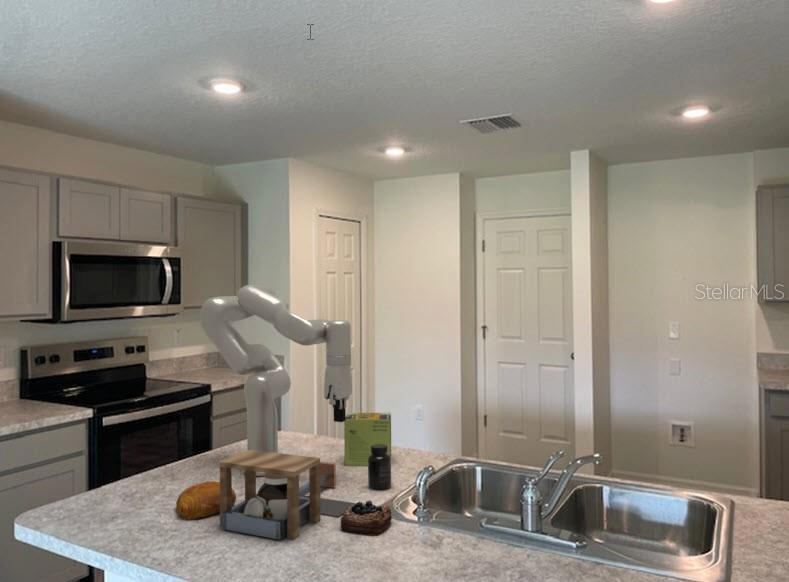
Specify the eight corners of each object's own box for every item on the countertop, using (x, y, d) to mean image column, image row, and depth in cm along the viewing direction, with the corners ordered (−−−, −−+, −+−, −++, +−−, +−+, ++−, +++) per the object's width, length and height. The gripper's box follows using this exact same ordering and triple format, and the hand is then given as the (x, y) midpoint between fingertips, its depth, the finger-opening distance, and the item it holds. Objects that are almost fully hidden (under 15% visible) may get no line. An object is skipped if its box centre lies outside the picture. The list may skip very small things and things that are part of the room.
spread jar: (303, 519, 150) (303, 473, 150) (277, 536, 140) (276, 486, 140) (265, 511, 155) (264, 467, 155) (236, 527, 145) (236, 480, 145)
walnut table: (220, 525, 146) (219, 461, 146) (249, 508, 157) (249, 449, 157) (294, 539, 138) (294, 471, 138) (320, 520, 149) (320, 458, 149)
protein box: (390, 466, 195) (390, 418, 195) (344, 466, 195) (343, 418, 195) (391, 457, 205) (391, 412, 205) (347, 457, 205) (346, 412, 205)
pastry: (381, 538, 139) (381, 513, 138) (334, 532, 142) (333, 507, 142) (396, 521, 149) (396, 498, 149) (351, 515, 153) (351, 492, 153)
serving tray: (222, 528, 143) (222, 501, 143) (304, 481, 178) (304, 459, 178) (280, 539, 137) (280, 511, 137) (353, 488, 171) (353, 465, 171)
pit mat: (253, 503, 161) (253, 502, 161) (274, 492, 170) (274, 490, 170) (338, 517, 151) (338, 516, 151) (356, 504, 160) (356, 503, 160)
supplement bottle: (392, 483, 177) (392, 443, 177) (390, 491, 171) (389, 449, 170) (369, 482, 178) (369, 442, 178) (366, 490, 171) (366, 448, 171)
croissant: (243, 516, 158) (247, 485, 159) (189, 525, 147) (193, 492, 147) (215, 501, 168) (219, 473, 169) (162, 508, 157) (167, 477, 157)
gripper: (339, 358, 189) (340, 415, 189) (315, 363, 175) (316, 425, 175) (360, 358, 186) (361, 417, 186) (338, 364, 172) (339, 427, 172)
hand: (339, 421), depth 180 cm, fingers closed
